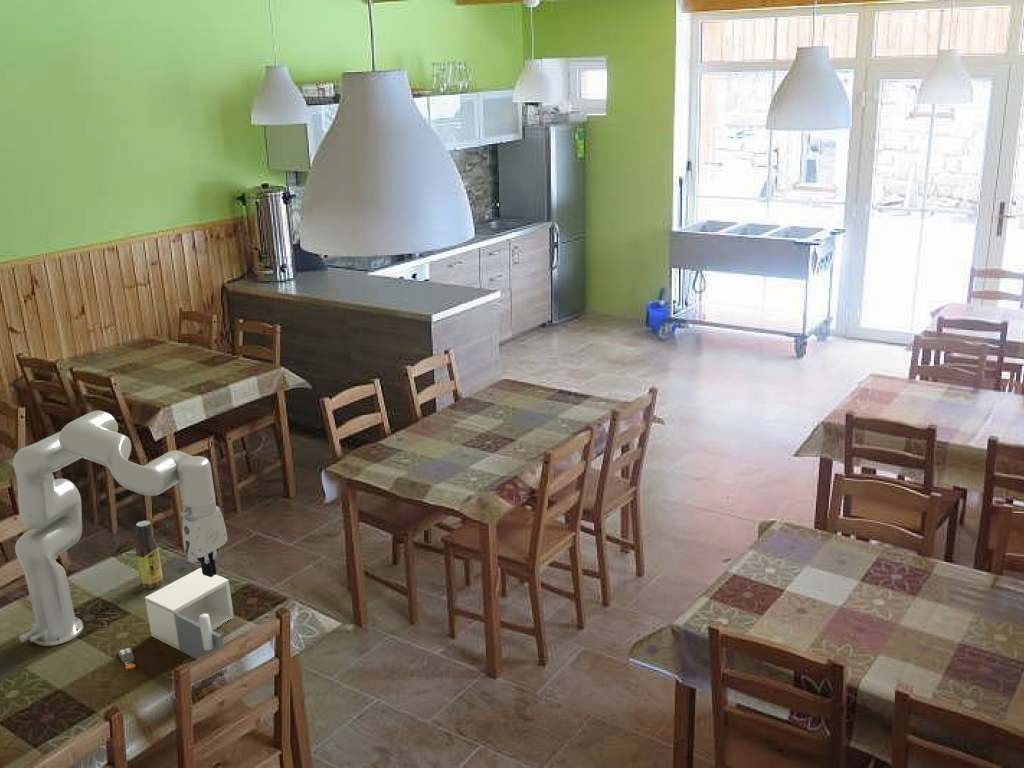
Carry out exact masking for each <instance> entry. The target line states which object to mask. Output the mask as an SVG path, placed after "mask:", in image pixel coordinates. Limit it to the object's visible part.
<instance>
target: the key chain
mask: <svg viewBox="0 0 1024 768" xmlns="http://www.w3.org/2000/svg"><path fill="white" fill-rule="evenodd" d="M117 655H118V657H119V659H120V658H121V659H120V660H121V662H122V663H123V664H124V665H125V669H126V670H128V669H127V668H132V667H134V668H136V667H137V666H136V664H135V663H133V662H134V660H135V655H134V653H133V649H132V648H131V647H126V648H125V647H124V648H122V649H120V650H118V651H117ZM132 661H133V662H132ZM130 662H131V663H130ZM127 663H128V664H127ZM132 669H133V668H132Z"/></svg>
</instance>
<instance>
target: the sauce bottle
mask: <svg viewBox="0 0 1024 768" xmlns="http://www.w3.org/2000/svg"><path fill="white" fill-rule="evenodd" d="M135 528H136V530H137V531H136V532H137V538H138V539H137V541H136V544H135V551H136V553H135V554H136V562H137V567H138V575H139V581H140V585H141V587H142V588H144V589H148V590H149V589H150V590H151V589H153V588H154V589H155V588H157V587H160V586H161V585H162V583H163V577H164V576H163V572H162V565H161V562H162V561H161V556H160V550H159V545H158V543H157V541H156V540H155V538H154V537H153V533H152V523H151V521H150V520H142V521H138V522H137V523H136V524H135Z"/></svg>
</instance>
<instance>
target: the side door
mask: <svg viewBox="0 0 1024 768" xmlns="http://www.w3.org/2000/svg"><path fill="white" fill-rule="evenodd" d="M174 619H175V625H176V631H177V637H178V643H179V649H180V650H179V649H178V650H179V651H180V652H182V653H184V654H186V655H188V656H189V657H192V658H193V659H195V658H198V657H201V656H205V655H207V654H209V653H211V652H213V651H215V650H217V649H219V648H220V647H222V646H223V647H224V641H223V635H222V634H221V633H218V632H216V631H215V630H211V625H210V619H209V614H201V615H200V616H199V621H200V624H199V623H197V622H195V621H193V620H191V619H189V618H187V617H186V616H184V615H182V614H180V613H178V612H175V613H174ZM219 673H220V674H222V675H226V674H227V673H228V669H227V666H226V668H225V669H224V670H222V671H220V672H219Z"/></svg>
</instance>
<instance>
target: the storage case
mask: <svg viewBox="0 0 1024 768" xmlns="http://www.w3.org/2000/svg"><path fill="white" fill-rule="evenodd" d="M144 600H145V607H146V611H147V612H146V613H147V617H148V622H149V628H150V634H151V637H153V638H154V639H157V640H158V641H161V642H162V643H165V644H167V645H169V646H170V647H173V648H175V649H177V650H179V651H180V649H179V643H178V637H177V631H176V625H175V619H174V613H175V612H178V613H180V614H182V615H184V616H186V617H187V618H189V619H191V620H193V621H195V622H197V623H199V624H200V621H199V616H200V615H201V614H209V619H210V625H211V630H213V631H215V630H216V629H218V628H219V627H221V626H223V625H224V624H226V623H227V621H228V620H229V621H231V620H232V618H233V619H234V618H235V616H234V609H233V601H232V595H231V587H230V581H229V579H227V578H225V577H223V576H221V575H219V574H216V575H213V577H209V576H206V575H203V573H202V568H201V567H199V568H197V569H196V570H194V571H191V572H190V573H187V574H186V575H183V576H182V577H179V579H177V580H174V581H173V582H171V583H169V584H167V585H165V586H163V587H161V588H159V589H158V590H155V591H154V592H152V593H150V594H149V595H148V594H147V596H145V597H144ZM230 619H231V620H230ZM229 621H228V622H229ZM225 622H226V623H225ZM223 623H224V624H223ZM222 624H223V625H222ZM220 625H221V626H220ZM217 627H218V628H217Z"/></svg>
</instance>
